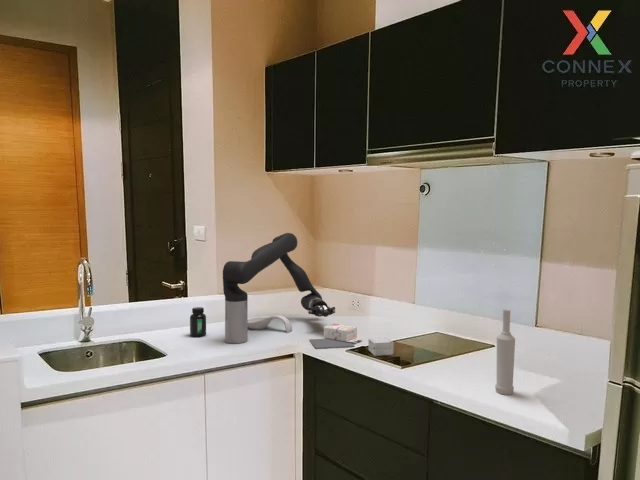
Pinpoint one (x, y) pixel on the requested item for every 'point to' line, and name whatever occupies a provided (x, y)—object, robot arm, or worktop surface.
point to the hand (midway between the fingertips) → (326, 314)
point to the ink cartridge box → (341, 333)
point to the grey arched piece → (263, 322)
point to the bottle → (505, 357)
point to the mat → (329, 343)
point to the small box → (381, 346)
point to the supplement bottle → (197, 322)
